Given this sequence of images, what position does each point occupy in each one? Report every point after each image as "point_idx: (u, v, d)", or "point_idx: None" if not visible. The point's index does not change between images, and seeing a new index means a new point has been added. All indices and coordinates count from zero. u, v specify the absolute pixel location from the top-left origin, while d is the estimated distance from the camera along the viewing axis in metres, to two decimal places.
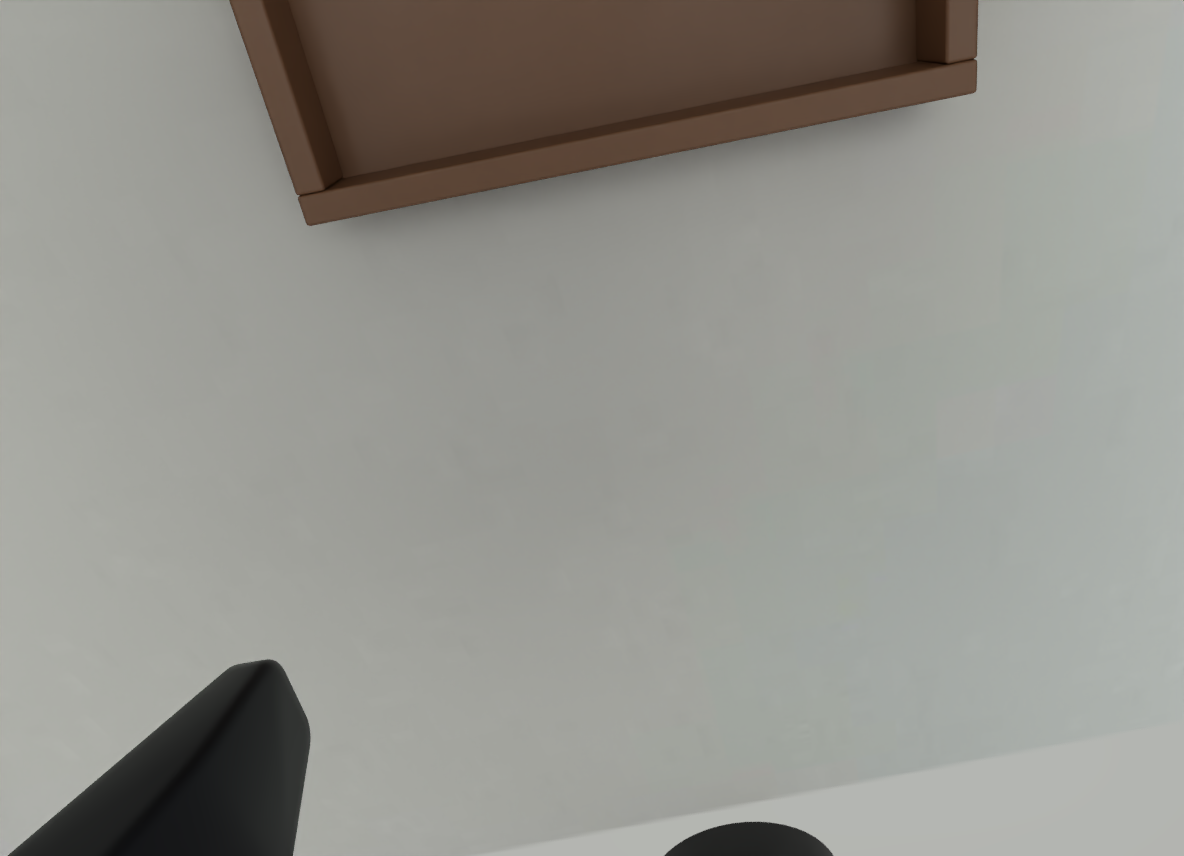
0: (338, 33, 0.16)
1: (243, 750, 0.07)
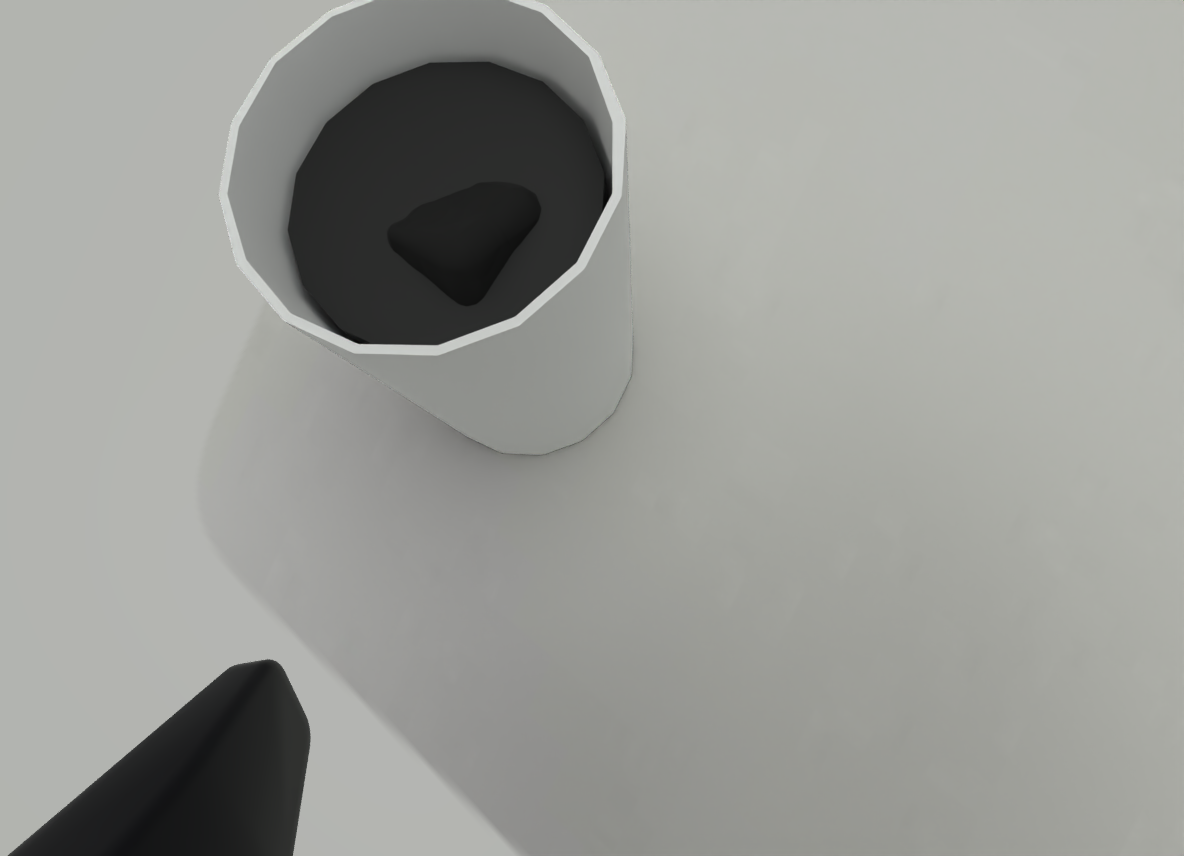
0: None
1: (243, 750, 0.07)
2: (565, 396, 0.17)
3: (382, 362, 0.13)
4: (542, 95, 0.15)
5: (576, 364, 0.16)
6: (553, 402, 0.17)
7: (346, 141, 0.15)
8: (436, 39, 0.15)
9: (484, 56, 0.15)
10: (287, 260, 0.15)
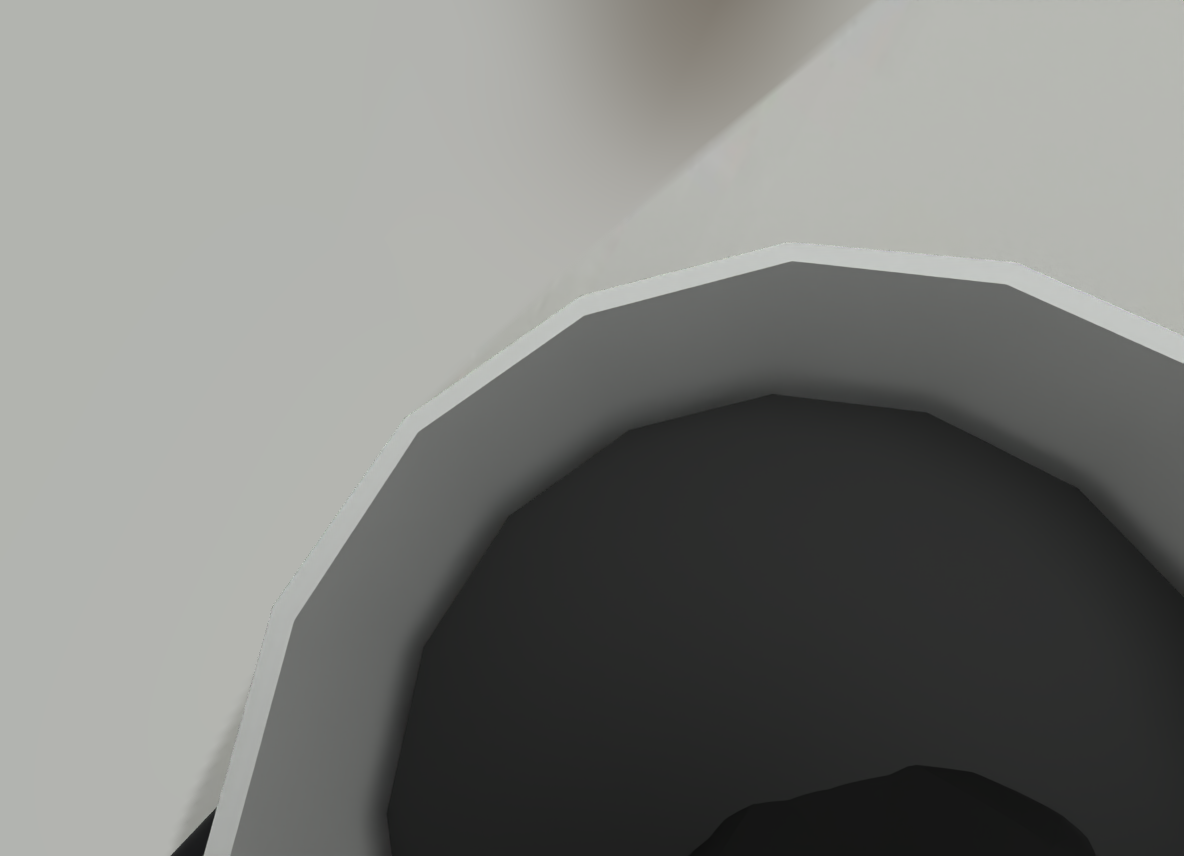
0: None
1: None
2: None
3: None
4: (1081, 526, 0.06)
5: None
6: None
7: (556, 577, 0.06)
8: (807, 351, 0.06)
9: (907, 391, 0.06)
10: None
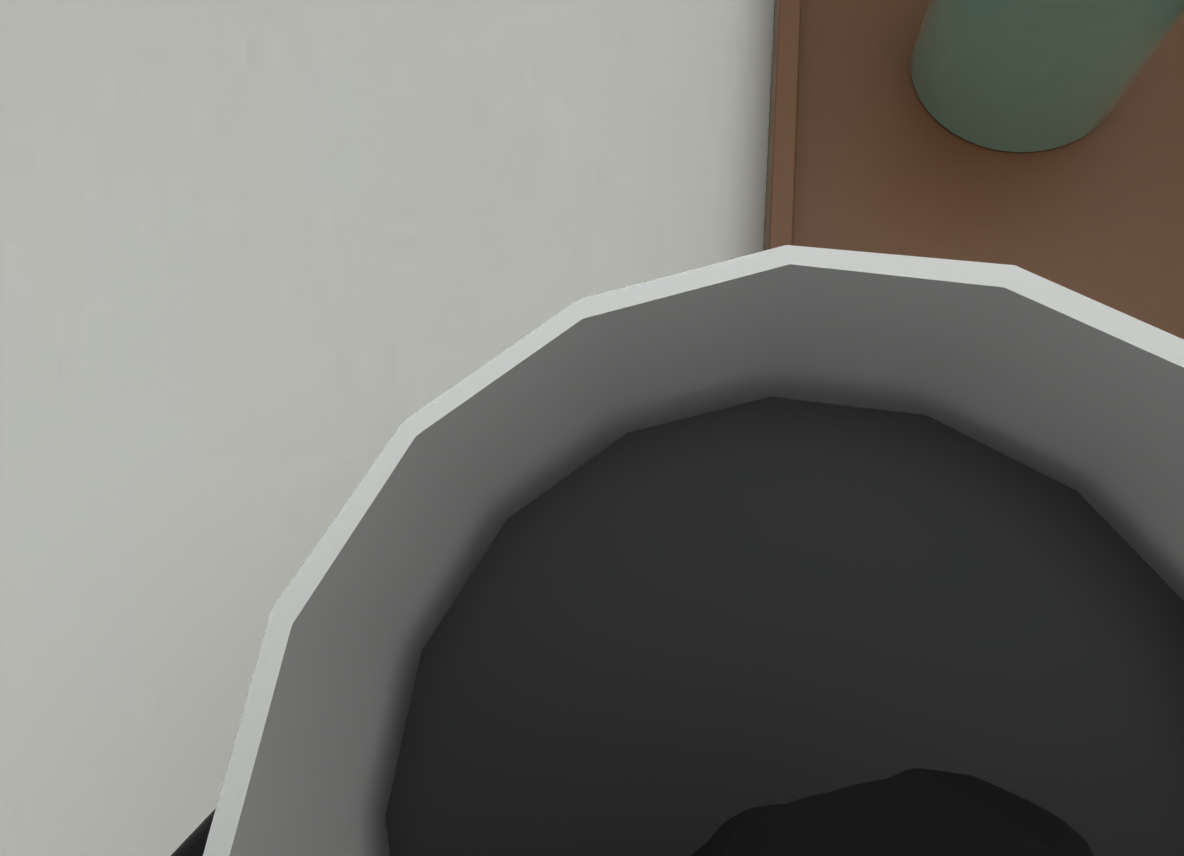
0: None
1: None
2: None
3: None
4: (1080, 529, 0.06)
5: None
6: None
7: (554, 581, 0.06)
8: (806, 354, 0.06)
9: (905, 393, 0.06)
10: None
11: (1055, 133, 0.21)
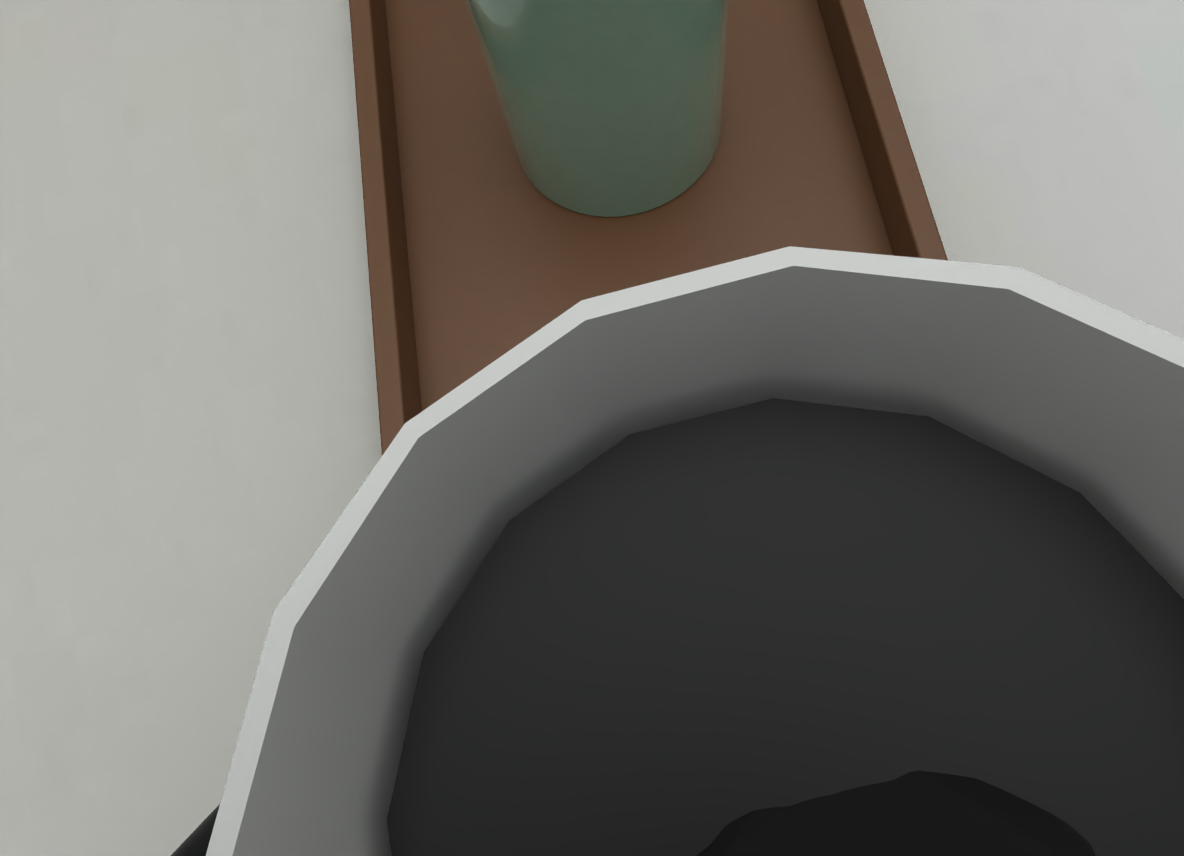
0: None
1: None
2: None
3: None
4: (1083, 532, 0.06)
5: None
6: None
7: (557, 582, 0.06)
8: (809, 355, 0.06)
9: (909, 395, 0.06)
10: None
11: (655, 191, 0.20)
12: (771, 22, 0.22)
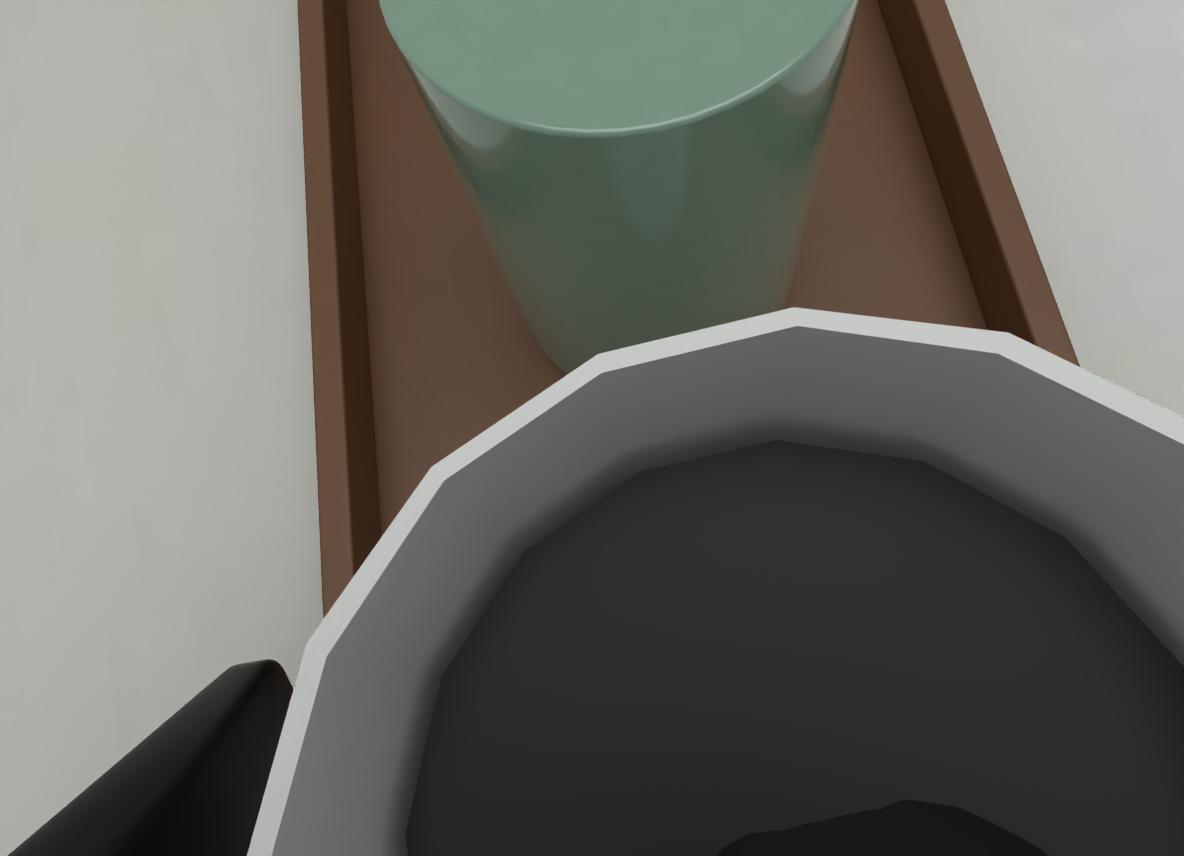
0: None
1: (244, 750, 0.07)
2: None
3: None
4: (1067, 575, 0.06)
5: None
6: None
7: (568, 612, 0.06)
8: (811, 402, 0.06)
9: (905, 439, 0.06)
10: None
11: None
12: (852, 131, 0.17)
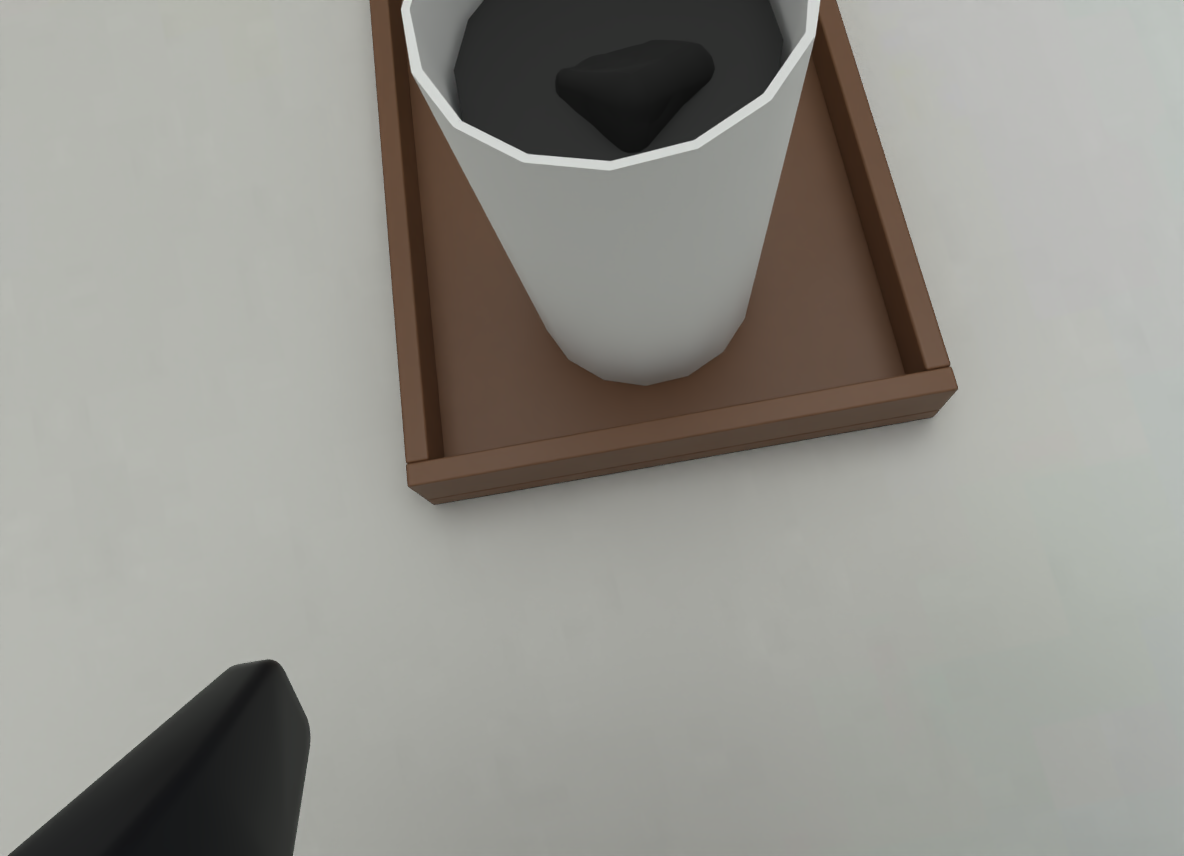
0: (464, 376, 0.22)
1: (243, 751, 0.07)
2: (697, 294, 0.17)
3: (546, 182, 0.12)
4: None
5: (719, 249, 0.15)
6: (684, 297, 0.16)
7: None
8: None
9: None
10: (449, 99, 0.14)
11: None
12: None
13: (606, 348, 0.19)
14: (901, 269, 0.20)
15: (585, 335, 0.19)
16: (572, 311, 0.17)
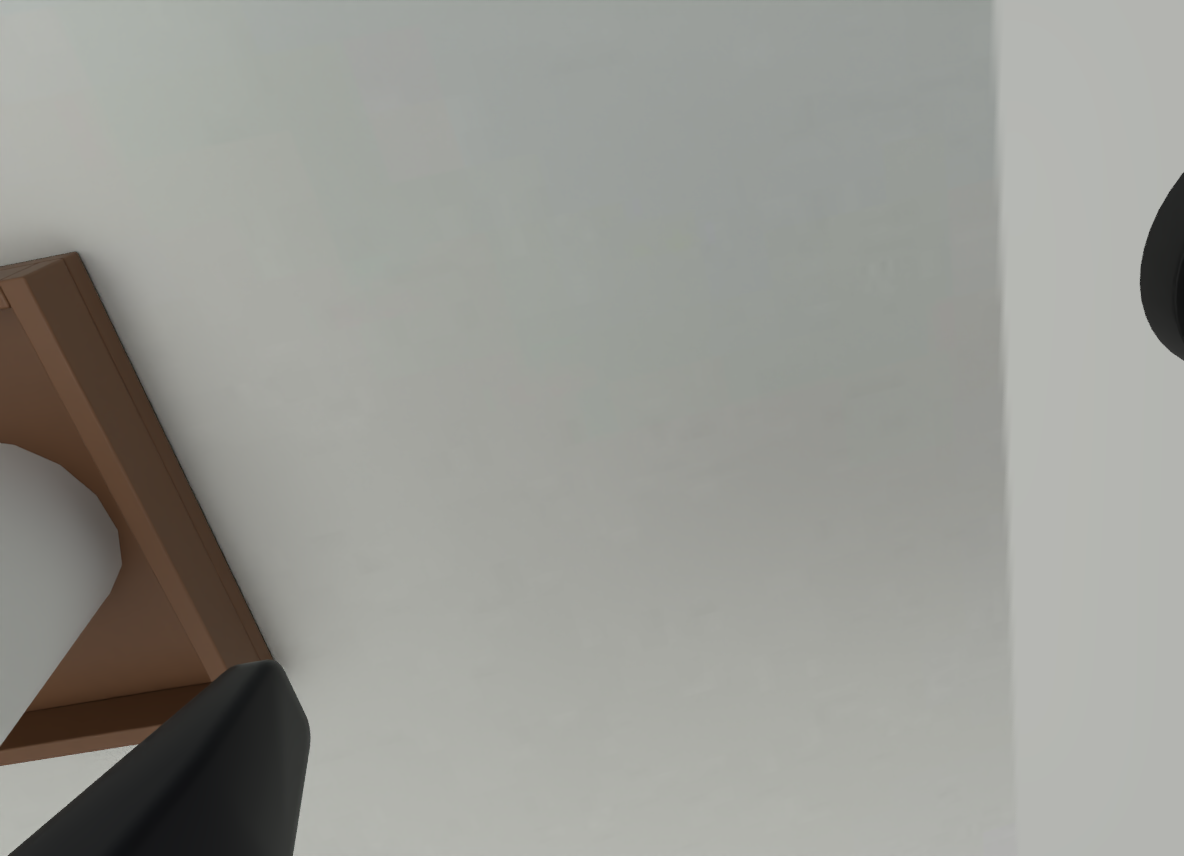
0: (151, 670, 0.24)
1: (243, 750, 0.07)
2: None
3: None
4: None
5: None
6: None
7: None
8: None
9: None
10: None
11: None
12: None
13: (75, 614, 0.20)
14: None
15: (63, 643, 0.19)
16: (33, 686, 0.18)
